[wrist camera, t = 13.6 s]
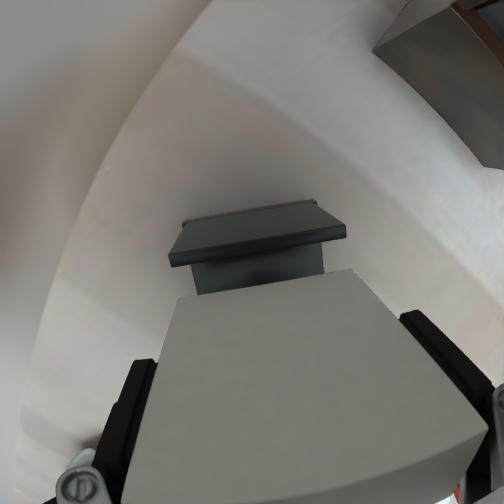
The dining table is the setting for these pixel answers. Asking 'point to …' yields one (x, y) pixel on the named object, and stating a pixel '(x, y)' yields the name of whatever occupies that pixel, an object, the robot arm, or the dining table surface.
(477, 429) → the white box
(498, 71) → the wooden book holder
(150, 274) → the dining table surface
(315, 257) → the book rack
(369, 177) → the dining table surface
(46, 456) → the dining table surface
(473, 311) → the dining table surface
